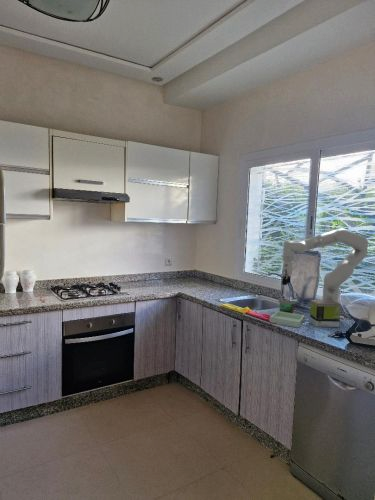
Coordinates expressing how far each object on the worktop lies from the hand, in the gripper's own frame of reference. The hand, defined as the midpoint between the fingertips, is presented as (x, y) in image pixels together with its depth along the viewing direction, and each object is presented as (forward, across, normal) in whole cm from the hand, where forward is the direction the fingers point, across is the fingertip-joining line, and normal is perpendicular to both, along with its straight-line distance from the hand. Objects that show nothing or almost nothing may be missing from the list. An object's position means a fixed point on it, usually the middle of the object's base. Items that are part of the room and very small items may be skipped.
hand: (286, 283), depth 239 cm
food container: (+21, 0, 0) cm, 21 cm away
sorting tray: (+21, -18, -6) cm, 28 cm away
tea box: (+21, -10, -28) cm, 36 cm away
